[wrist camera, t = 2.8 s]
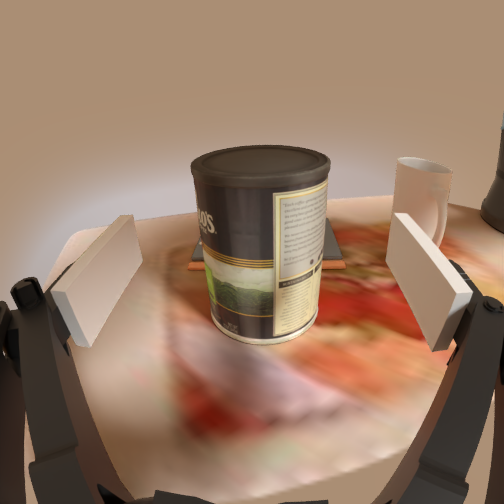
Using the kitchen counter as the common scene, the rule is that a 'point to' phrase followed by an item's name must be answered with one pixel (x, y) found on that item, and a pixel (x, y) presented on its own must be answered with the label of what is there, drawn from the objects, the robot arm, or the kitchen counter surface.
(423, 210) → the mug
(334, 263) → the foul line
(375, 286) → the kitchen counter surface
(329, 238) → the mat
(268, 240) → the coffee can
